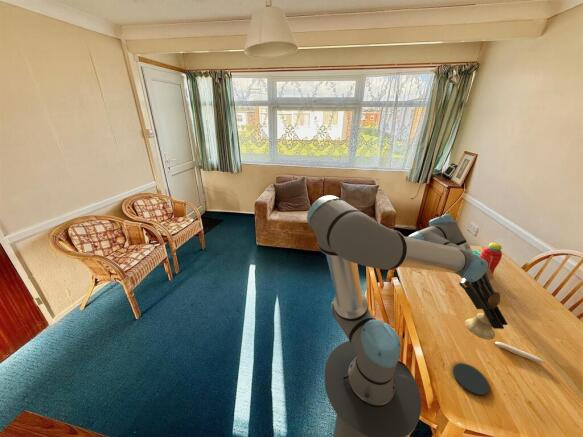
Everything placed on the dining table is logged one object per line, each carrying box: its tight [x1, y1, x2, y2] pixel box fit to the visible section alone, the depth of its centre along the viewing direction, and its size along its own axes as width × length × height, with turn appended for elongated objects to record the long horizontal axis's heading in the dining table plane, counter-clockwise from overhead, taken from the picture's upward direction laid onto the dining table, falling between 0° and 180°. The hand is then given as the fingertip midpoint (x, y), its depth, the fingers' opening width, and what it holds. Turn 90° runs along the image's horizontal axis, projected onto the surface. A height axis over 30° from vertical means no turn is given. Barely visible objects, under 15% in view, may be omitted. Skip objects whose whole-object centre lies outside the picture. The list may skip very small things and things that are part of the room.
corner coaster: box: [452, 363, 490, 397], centre depth 78 cm, size 10×10×1 cm
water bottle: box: [480, 242, 503, 282], centre depth 113 cm, size 12×8×25 cm, turn 142°
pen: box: [494, 341, 546, 363], centre depth 86 cm, size 2×14×2 cm, turn 55°
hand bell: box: [464, 291, 501, 341], centre depth 75 cm, size 8×8×16 cm
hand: (500, 326), depth 73 cm, fingers closed on hand bell, 2 cm apart
